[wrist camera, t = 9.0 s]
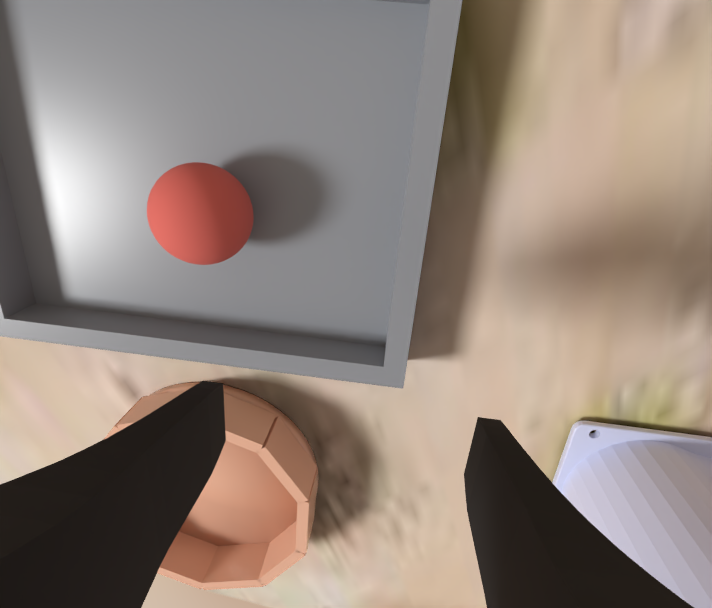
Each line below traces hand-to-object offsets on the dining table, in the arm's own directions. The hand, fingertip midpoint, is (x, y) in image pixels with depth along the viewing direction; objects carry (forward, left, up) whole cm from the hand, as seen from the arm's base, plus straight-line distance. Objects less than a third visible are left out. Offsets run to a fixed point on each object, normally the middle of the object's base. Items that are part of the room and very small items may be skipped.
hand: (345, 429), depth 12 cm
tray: (+8, -5, -9) cm, 13 cm away
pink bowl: (+8, +12, -9) cm, 17 cm away
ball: (+7, -4, -7) cm, 11 cm away
